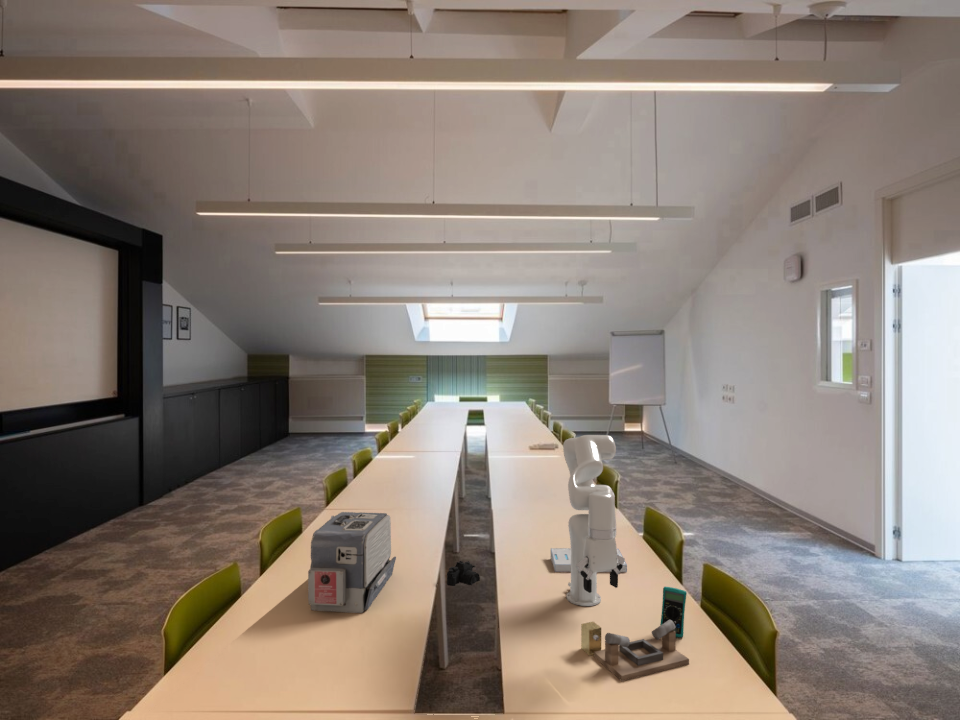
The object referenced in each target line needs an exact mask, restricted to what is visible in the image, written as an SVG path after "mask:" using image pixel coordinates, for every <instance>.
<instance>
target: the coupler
mask: <svg viewBox="0 0 960 720" xmlns="http://www.w3.org/2000/svg"><path fill="white" fill-rule="evenodd" d="M580 630H581V634H580V636H581V637H580V641H581V643H580V644H581V646H580V648H581V650H582V651H583V652H584V653H585V654H586V655H588V657H590V656H594V652H595V651H600V650H602V627H601V626H600V625H599V624H597V623H596V622H595V621H590V622H585V623H581V627H580Z"/></svg>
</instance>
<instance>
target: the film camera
mask: <svg viewBox="0 0 960 720" xmlns="http://www.w3.org/2000/svg"><path fill="white" fill-rule="evenodd" d="M475 567H476V565H473V564H472V563H471V562H470V561H465V562H464V561H462V560H459V561H457V562H456V564H455V566H450V567H449V569H448V571H447V572H446V585H447V586H449V587H455V586H456V585H458V584H459V583H460V584H463V585H468V586H473V584H475V583H478V582H480V579H481V577H480V574H479V573H477V572H476V571H473V568H475Z"/></svg>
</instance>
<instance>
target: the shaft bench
mask: <svg viewBox="0 0 960 720" xmlns="http://www.w3.org/2000/svg"><path fill="white" fill-rule="evenodd" d="M675 628H676V626H675V624H674V622H673V621H672V620H668V621H667V622H665V623H664V624H662V625H661V626H660V625H659V626H658V627H656V628H654V629H653V630H651V635H652V636H653V638H649V639H644V638H642V639H638V640H634V641H631V640H630V638H629V636H625V635H620V634H617V633H611V632H606V634H605V635H604V639H605V640H604V649H601V650H600V651H595V652H594V655H593V657H594V658H595V659H596V660H597V661H598V662H599V663H600V664H602V665H603V666H604V667H605V668H606V669H607V670H609V671H610V672H611V673H612V674H613V675H615V677H616V678H618V679H619V680H620V681H621V682H624V681H628V680H632V679H636V678H640V677H643V676H647V675H652V674H655V673H659V672H662V671H667V670H671V669H674V668H675V669H676V668H679V667H682V666H686V665H690V659H689V658H688V657H687V656H686V655H684V654H683V653H681V652H680V651H679V650H677V649H676V646H677V644H676V638H677V637H676V632H675V631H674V630H673V629H675Z"/></svg>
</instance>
